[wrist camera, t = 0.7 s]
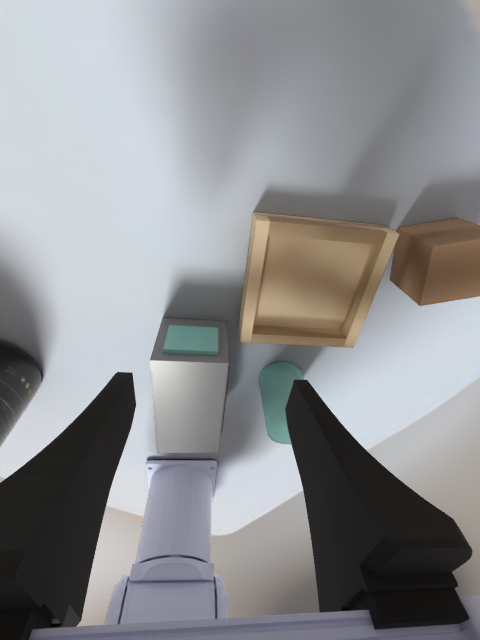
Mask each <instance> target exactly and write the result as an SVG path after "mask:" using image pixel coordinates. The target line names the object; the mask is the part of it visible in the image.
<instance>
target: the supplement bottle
mask: <svg viewBox="0 0 480 640" xmlns="http://www.w3.org/2000/svg"><path fill="white" fill-rule="evenodd" d="M40 384H41V373H40V370H39V368H38V366H37V365H36V363H35V362H34V361H33V360H32V359H31V358H30V357H29V356H28V355H27V354H26V353H24V352H23V351H21V350H20V349H18V348H16V347H14V346H12V345H9V344H7V343H4V342H0V447H1V446H2V444H3V443H4V441H5V440H6V438H7V437H8V435H9V434H10V432H11V431H12V429H13V428H14V426H15V424H16V423H17V421H18V420H19V418H20V417H21V415H22V414H23V412H24V411H25V409H26V408H27V406H28V405H29V403H30V402H31V400H32V399H33V397H34V396H35V394H36V392H37V391H38V389H39V387H40Z"/></svg>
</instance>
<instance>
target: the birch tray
mask: <svg viewBox="0 0 480 640" xmlns="http://www.w3.org/2000/svg"><path fill="white" fill-rule="evenodd" d="M398 237H399V233H397V232H395V231H394V230H392V229H390V228H388V227H387V226H385V225H378V224H368V223H358V222H348V221H338V220H328V219H318V218H308V217H298V216H288V215H278V214H268V213H258V212H253V218H252V226H251V233H250V241H249V249H248V257H247V264H246V272H245V280H244V288H243V296H242V303H241V311H240V319H239V327H238V328H239V337H240V342H248V343H269V344H290V345H311V346H332V347H354V344H355V342H356V339H357V337H358V335H359V332H360V330H361V327H362V325H363V322H364V320H365V317H366V315H367V313H368V310H369V308H370V305H371V303H372V300H373V298H374V295H375V293H376V290H377V288H378V286H379V283H380V281H381V278H382V276H383V273H384V271H385V268H386V266H387V264H388V261H389V259H390V256H391V254H392V251H393V249H394V246H395V244H396V242H397V239H398Z"/></svg>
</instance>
